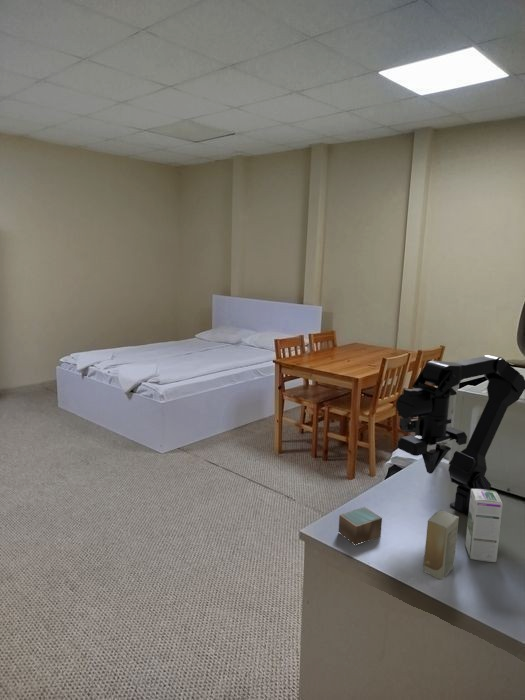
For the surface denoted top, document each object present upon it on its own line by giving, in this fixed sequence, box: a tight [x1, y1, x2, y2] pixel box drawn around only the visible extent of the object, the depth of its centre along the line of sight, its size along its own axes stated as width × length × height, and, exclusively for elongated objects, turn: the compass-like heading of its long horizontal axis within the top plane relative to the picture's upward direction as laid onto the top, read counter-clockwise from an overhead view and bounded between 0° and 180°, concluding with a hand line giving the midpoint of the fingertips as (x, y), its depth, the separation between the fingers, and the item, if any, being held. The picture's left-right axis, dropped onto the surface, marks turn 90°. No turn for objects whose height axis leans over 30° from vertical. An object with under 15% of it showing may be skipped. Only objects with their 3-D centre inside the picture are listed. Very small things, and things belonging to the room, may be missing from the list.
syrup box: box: [465, 489, 504, 563], centre depth 110 cm, size 6×6×14 cm
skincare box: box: [422, 509, 460, 581], centre depth 104 cm, size 6×4×12 cm
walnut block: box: [338, 506, 383, 546], centre depth 117 cm, size 5×6×8 cm
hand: (429, 472), depth 122 cm, fingers closed
